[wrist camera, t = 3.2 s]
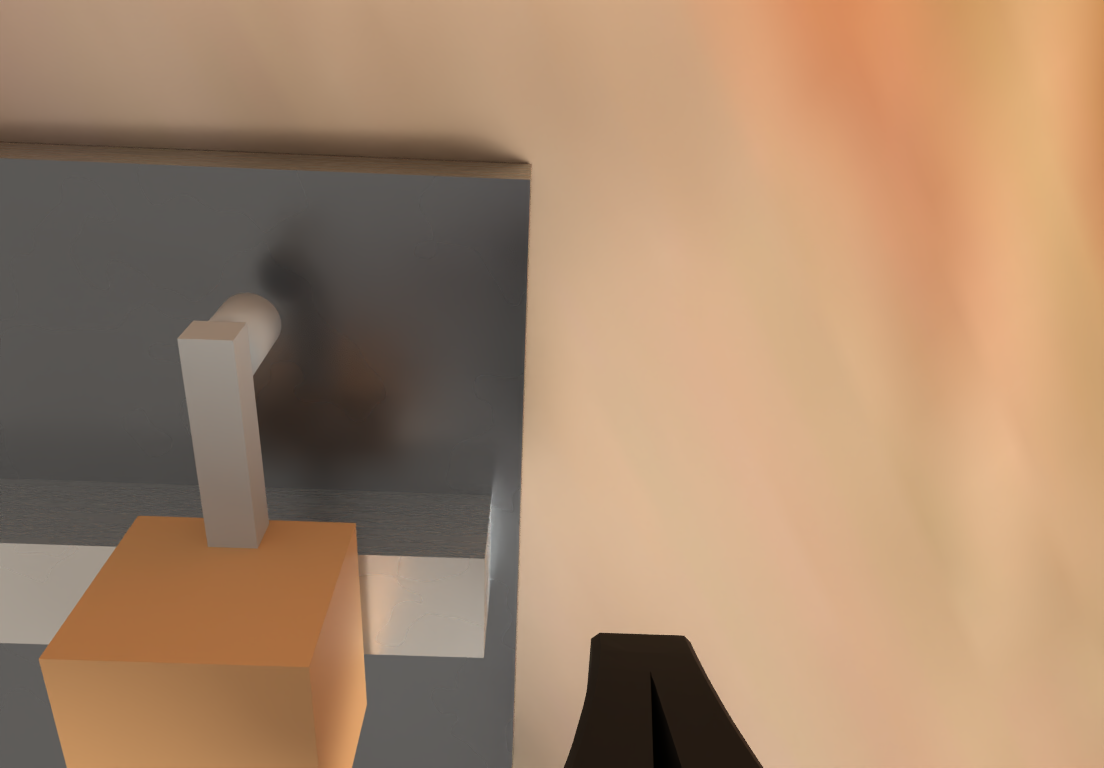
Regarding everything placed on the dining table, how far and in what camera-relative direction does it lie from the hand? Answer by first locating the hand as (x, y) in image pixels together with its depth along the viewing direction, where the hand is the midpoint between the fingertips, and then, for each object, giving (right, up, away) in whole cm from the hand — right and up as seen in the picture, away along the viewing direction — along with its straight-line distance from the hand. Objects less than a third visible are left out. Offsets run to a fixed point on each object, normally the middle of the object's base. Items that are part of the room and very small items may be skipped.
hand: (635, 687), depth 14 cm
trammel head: (-6, +3, +1) cm, 6 cm away
